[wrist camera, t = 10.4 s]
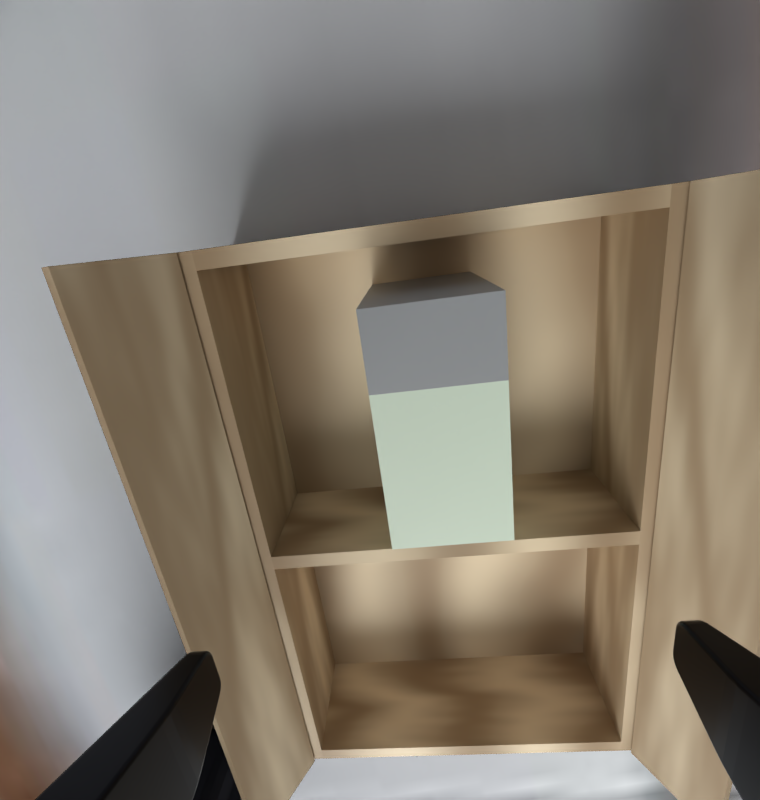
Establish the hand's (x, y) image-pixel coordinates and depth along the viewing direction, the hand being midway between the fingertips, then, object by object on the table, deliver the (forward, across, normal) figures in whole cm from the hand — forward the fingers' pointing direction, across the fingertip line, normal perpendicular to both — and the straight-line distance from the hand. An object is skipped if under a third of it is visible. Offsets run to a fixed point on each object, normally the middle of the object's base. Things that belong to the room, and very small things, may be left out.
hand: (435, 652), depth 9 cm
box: (+12, -1, -2) cm, 12 cm away
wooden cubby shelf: (+13, -1, +4) cm, 13 cm away
